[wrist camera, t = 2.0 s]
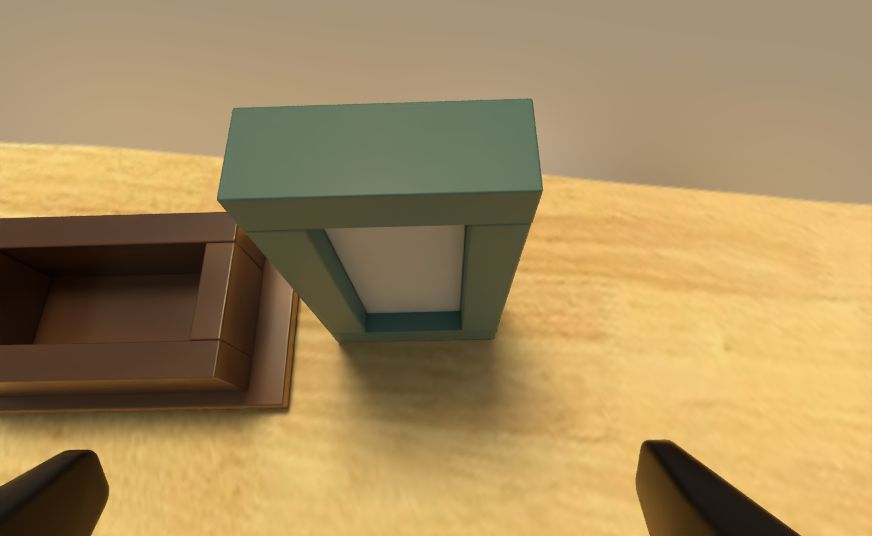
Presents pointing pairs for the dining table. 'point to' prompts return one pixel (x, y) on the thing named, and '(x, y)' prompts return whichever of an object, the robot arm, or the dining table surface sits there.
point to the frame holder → (141, 315)
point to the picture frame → (389, 210)
